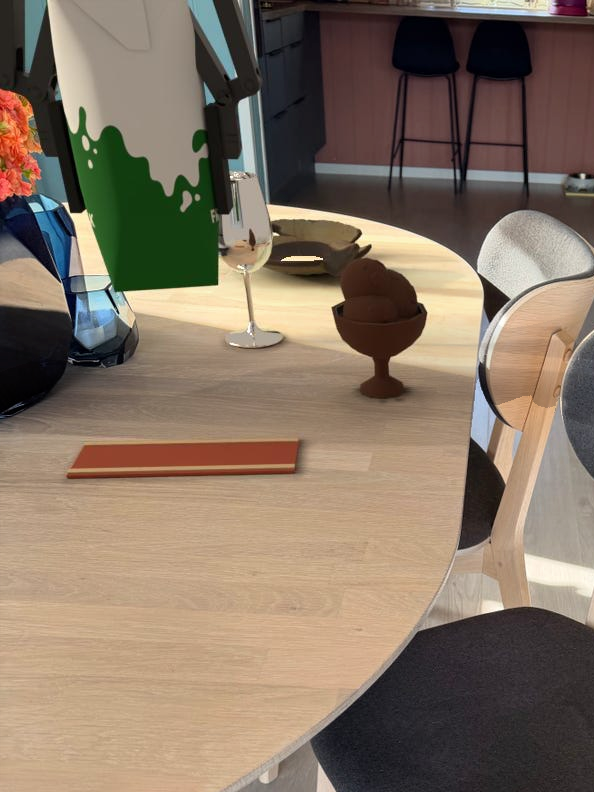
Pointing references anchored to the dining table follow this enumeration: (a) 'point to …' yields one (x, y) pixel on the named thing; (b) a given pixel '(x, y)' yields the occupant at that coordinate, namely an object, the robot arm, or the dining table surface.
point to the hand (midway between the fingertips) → (153, 209)
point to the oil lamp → (314, 246)
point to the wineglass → (247, 250)
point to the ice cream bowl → (378, 320)
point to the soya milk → (139, 138)
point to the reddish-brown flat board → (185, 457)
